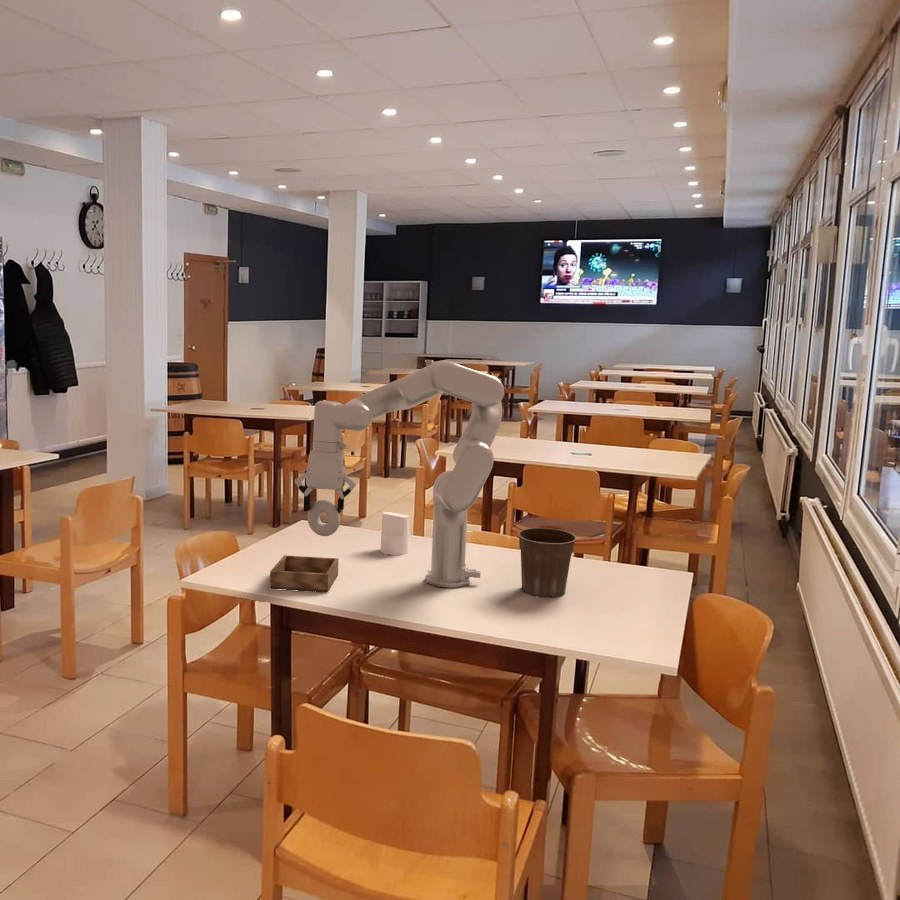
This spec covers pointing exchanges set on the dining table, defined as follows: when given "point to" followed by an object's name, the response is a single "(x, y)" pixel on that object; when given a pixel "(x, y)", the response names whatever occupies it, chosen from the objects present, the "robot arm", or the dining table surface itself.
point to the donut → (331, 514)
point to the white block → (395, 533)
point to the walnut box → (304, 573)
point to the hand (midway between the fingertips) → (324, 510)
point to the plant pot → (545, 560)
